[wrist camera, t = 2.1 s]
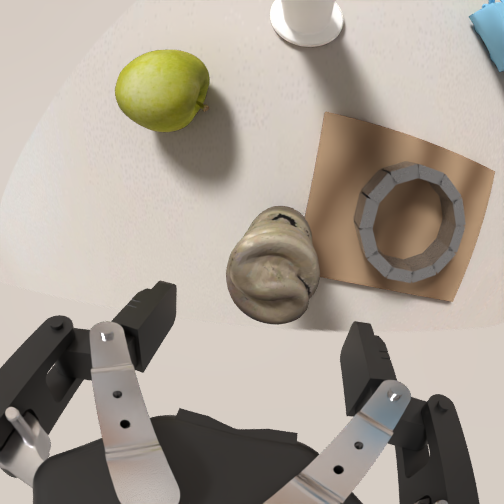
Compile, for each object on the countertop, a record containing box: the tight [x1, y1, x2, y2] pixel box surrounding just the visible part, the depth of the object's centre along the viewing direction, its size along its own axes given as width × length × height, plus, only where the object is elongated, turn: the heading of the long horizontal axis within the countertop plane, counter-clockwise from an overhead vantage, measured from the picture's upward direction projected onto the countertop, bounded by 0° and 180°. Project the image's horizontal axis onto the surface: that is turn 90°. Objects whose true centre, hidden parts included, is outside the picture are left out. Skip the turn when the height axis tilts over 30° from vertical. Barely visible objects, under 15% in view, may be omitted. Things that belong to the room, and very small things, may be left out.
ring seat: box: [353, 161, 466, 283], centre depth 24 cm, size 11×11×3 cm
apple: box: [115, 50, 210, 132], centre depth 22 cm, size 8×9×8 cm
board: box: [305, 112, 495, 302], centre depth 26 cm, size 20×16×1 cm
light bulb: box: [226, 206, 320, 324], centre depth 22 cm, size 6×6×15 cm
